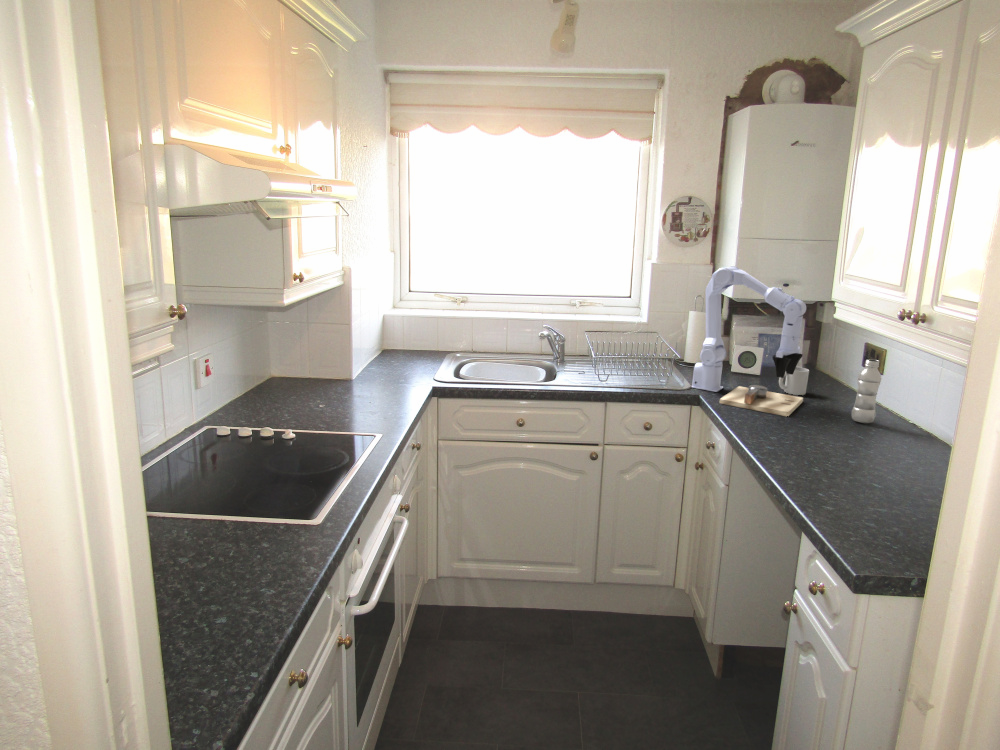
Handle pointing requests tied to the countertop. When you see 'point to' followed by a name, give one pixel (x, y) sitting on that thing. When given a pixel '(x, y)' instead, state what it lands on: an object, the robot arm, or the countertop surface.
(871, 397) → the plastic bottle
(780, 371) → the robot arm
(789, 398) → the lock board
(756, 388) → the lever
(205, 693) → the countertop surface
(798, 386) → the cup
